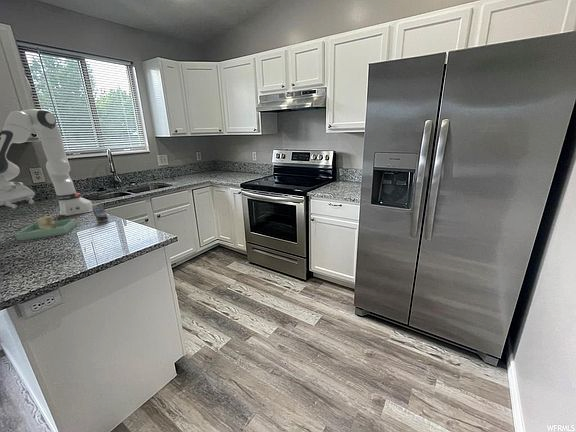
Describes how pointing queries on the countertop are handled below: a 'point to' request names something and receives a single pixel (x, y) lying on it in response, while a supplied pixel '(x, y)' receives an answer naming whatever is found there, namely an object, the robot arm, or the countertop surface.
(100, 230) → the countertop surface
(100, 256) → the countertop surface
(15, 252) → the countertop surface
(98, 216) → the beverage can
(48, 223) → the maple block
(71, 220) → the tray
